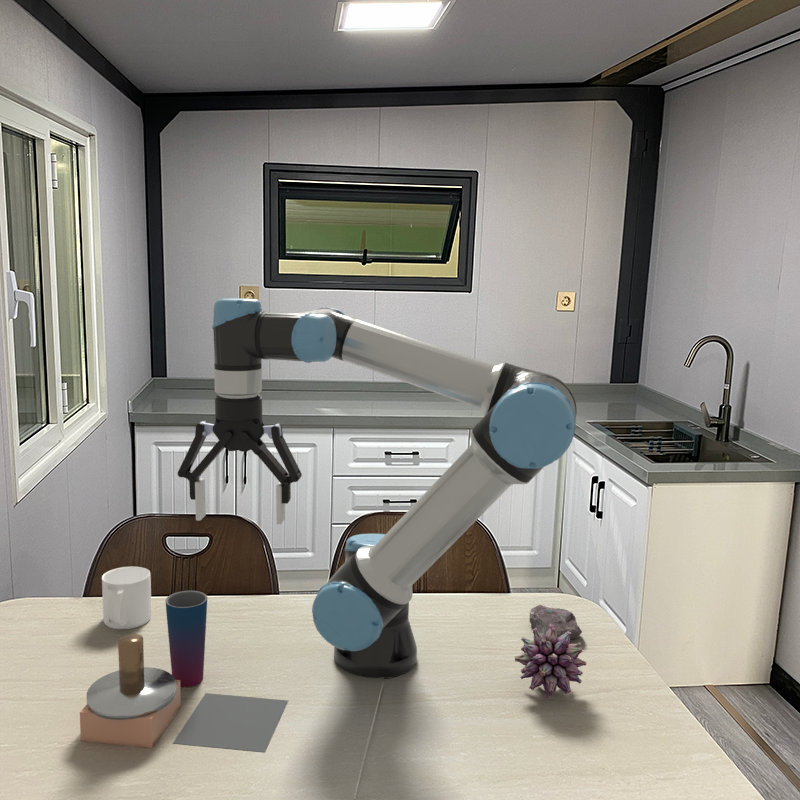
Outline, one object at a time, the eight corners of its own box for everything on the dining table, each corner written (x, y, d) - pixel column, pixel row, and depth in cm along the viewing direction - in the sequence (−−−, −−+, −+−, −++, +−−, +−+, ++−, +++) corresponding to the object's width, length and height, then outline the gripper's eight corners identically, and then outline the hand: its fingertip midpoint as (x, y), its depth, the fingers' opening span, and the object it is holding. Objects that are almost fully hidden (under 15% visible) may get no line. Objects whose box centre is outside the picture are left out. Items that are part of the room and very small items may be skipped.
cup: (197, 694, 132) (196, 609, 129) (159, 689, 133) (157, 604, 130) (215, 674, 138) (214, 593, 136) (178, 669, 140) (177, 588, 137)
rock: (555, 616, 165) (556, 596, 165) (587, 641, 155) (588, 619, 154) (521, 622, 162) (522, 601, 162) (551, 648, 152) (552, 626, 151)
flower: (561, 721, 127) (566, 652, 125) (499, 692, 135) (503, 627, 133) (597, 694, 136) (602, 628, 134) (537, 668, 144) (541, 606, 142)
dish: (180, 708, 127) (180, 680, 127) (152, 750, 117) (151, 718, 116) (115, 702, 128) (114, 674, 128) (81, 743, 118) (79, 712, 117)
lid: (189, 677, 127) (188, 623, 126) (155, 723, 115) (154, 664, 113) (111, 670, 129) (109, 617, 127) (70, 715, 116) (67, 657, 114)
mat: (288, 702, 130) (288, 700, 130) (264, 754, 116) (264, 752, 116) (205, 695, 132) (205, 693, 131) (172, 745, 118) (172, 743, 118)
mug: (116, 608, 163) (114, 565, 161) (158, 611, 162) (157, 568, 160) (87, 635, 151) (85, 588, 149) (133, 638, 150) (131, 592, 148)
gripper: (318, 393, 132) (318, 516, 135) (172, 388, 134) (175, 509, 137) (309, 400, 124) (310, 530, 128) (154, 395, 126) (159, 523, 130)
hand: (240, 520), depth 133 cm, fingers open, 13 cm apart
